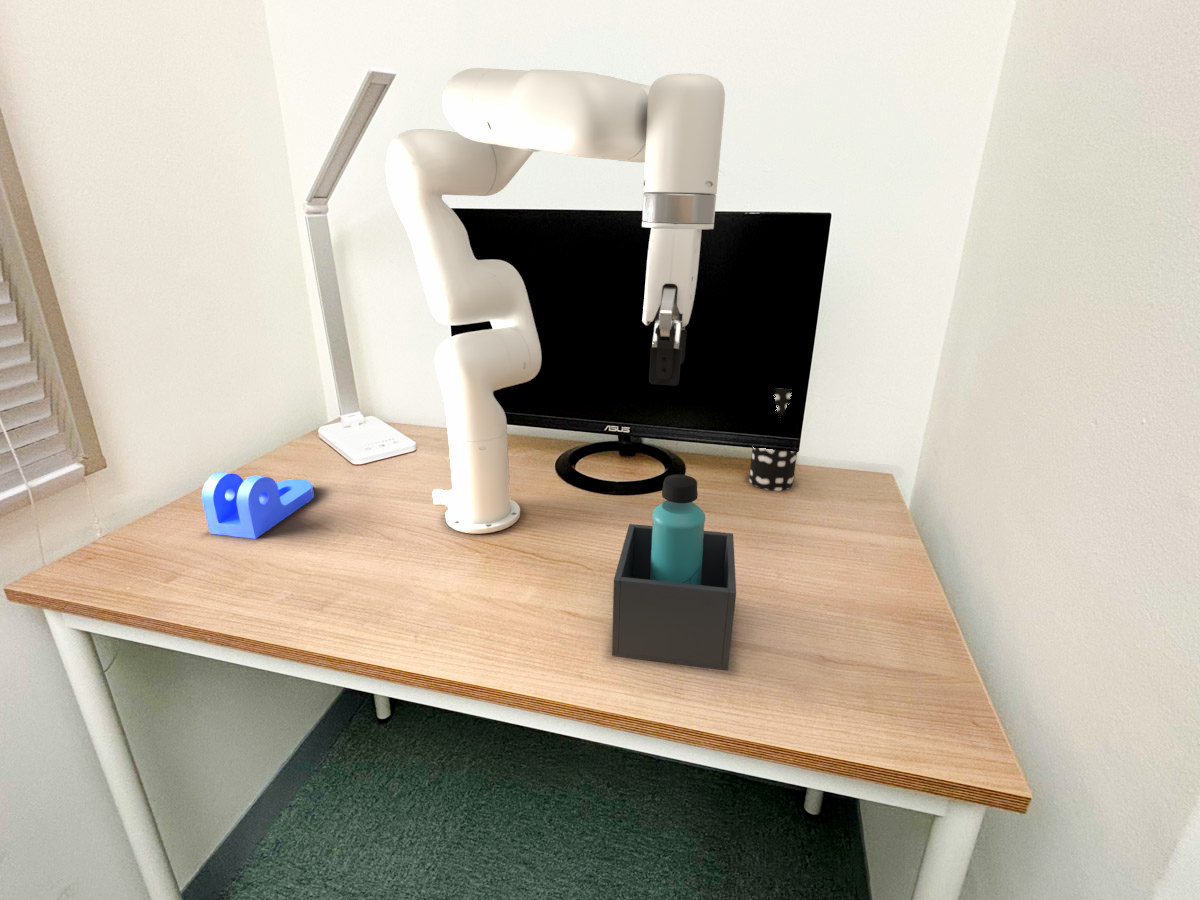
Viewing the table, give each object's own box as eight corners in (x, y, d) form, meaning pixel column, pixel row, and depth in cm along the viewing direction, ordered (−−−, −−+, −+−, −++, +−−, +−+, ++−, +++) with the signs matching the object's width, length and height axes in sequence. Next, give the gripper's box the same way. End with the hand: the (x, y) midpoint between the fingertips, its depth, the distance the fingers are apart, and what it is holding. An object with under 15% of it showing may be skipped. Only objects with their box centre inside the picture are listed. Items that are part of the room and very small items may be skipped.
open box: (611, 655, 73) (613, 579, 70) (627, 591, 86) (629, 523, 82) (728, 670, 71) (736, 593, 67) (726, 601, 84) (733, 533, 80)
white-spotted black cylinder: (743, 473, 125) (753, 377, 117) (783, 472, 125) (796, 377, 118) (756, 491, 117) (768, 389, 110) (799, 490, 118) (813, 388, 110)
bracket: (255, 538, 98) (244, 487, 95) (210, 533, 100) (197, 482, 96) (323, 491, 115) (315, 446, 111) (283, 487, 116) (274, 442, 113)
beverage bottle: (697, 642, 75) (709, 493, 68) (643, 635, 76) (649, 488, 69) (700, 611, 81) (711, 470, 74) (649, 604, 82) (656, 466, 75)
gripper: (651, 211, 73) (643, 353, 79) (631, 213, 57) (624, 391, 63) (715, 213, 72) (702, 357, 78) (713, 216, 56) (697, 397, 62)
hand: (667, 372), depth 71 cm, fingers open, 9 cm apart
